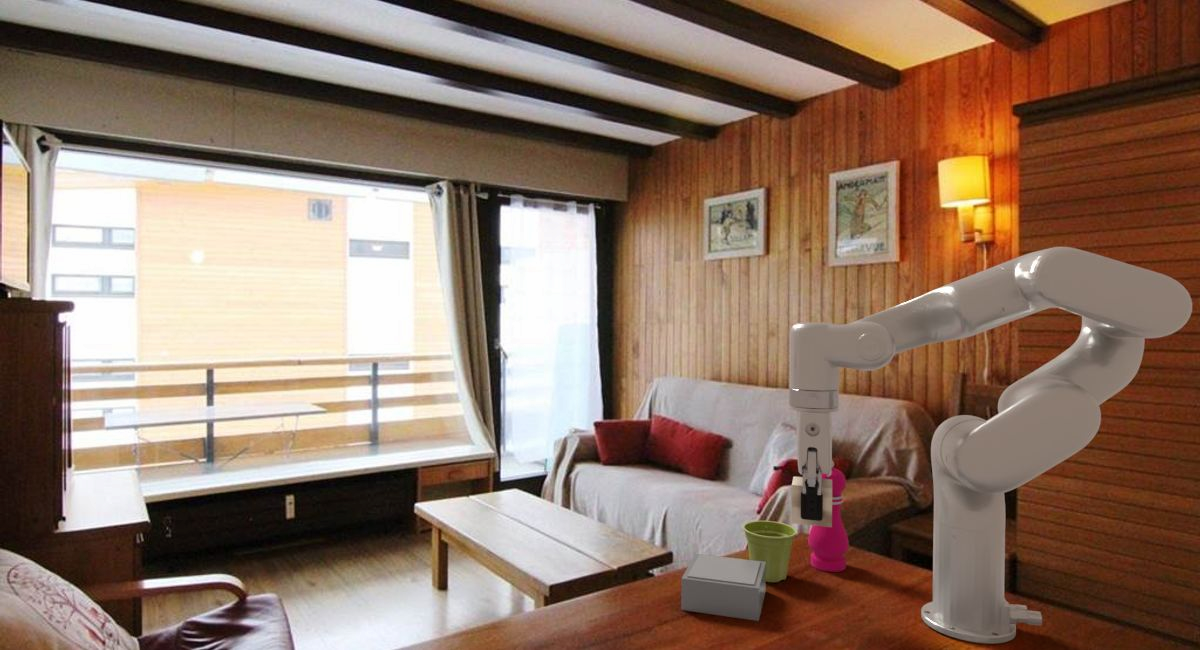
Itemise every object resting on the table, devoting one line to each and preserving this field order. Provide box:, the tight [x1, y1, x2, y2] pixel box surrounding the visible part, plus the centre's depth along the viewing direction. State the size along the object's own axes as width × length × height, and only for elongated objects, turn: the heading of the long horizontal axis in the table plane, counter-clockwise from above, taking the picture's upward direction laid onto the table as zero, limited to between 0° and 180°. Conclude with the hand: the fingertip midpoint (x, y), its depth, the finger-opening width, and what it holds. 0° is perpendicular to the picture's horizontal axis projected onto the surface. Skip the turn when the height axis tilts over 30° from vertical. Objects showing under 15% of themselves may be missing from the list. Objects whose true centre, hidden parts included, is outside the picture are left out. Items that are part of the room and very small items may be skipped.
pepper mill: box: [807, 460, 850, 573], centre depth 127 cm, size 7×7×20 cm
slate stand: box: [680, 553, 767, 622], centre depth 112 cm, size 12×12×5 cm
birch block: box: [790, 476, 832, 527], centre depth 108 cm, size 6×6×6 cm
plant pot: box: [742, 520, 798, 583], centre depth 122 cm, size 9×9×9 cm
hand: (812, 512), depth 108 cm, fingers closed on birch block, 6 cm apart
